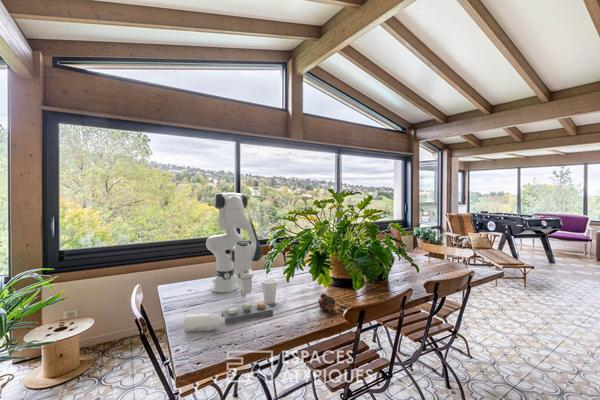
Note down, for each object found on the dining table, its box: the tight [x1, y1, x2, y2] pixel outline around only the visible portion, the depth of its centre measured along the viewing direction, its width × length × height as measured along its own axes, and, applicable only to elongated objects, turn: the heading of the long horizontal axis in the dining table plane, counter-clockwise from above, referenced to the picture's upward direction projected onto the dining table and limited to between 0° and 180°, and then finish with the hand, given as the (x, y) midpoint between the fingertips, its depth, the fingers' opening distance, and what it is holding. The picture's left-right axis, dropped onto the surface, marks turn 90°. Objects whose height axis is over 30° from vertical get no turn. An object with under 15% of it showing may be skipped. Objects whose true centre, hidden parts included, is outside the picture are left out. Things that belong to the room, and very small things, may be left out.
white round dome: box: [227, 306, 238, 315], centre depth 152 cm, size 5×5×5 cm
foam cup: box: [261, 278, 278, 305], centre depth 176 cm, size 10×9×13 cm
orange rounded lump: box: [256, 301, 266, 309], centre depth 159 cm, size 5×5×5 cm
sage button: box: [242, 302, 253, 312], centre depth 156 cm, size 5×5×5 cm
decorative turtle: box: [318, 292, 336, 313], centre depth 163 cm, size 10×15×8 cm, turn 21°
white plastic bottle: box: [183, 313, 225, 333], centre depth 140 cm, size 8×19×8 cm, turn 95°
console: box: [221, 303, 274, 326], centre depth 156 cm, size 10×26×3 cm, turn 116°
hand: (243, 296), depth 155 cm, fingers closed
